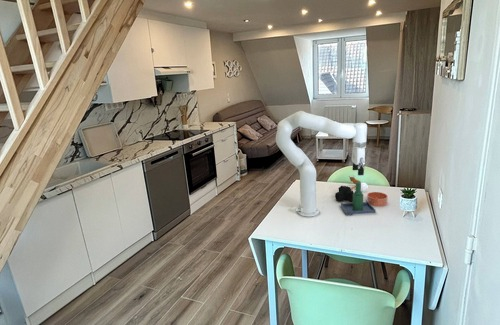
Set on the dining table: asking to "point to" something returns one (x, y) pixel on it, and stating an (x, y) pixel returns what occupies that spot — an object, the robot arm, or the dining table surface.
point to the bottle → (358, 198)
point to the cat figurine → (363, 185)
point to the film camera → (344, 194)
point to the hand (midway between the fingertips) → (357, 172)
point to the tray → (349, 211)
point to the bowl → (377, 199)
